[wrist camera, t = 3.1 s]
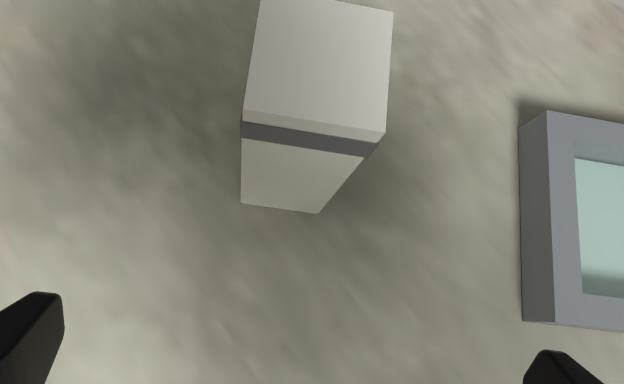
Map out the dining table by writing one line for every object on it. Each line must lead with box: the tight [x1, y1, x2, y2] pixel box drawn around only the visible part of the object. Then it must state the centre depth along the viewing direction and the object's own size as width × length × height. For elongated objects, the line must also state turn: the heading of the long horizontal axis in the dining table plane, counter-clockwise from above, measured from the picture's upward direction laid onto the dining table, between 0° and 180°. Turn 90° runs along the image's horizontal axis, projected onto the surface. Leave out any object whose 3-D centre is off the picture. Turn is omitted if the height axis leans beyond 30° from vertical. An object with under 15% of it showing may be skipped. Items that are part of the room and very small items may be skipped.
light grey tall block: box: [240, 0, 393, 214], centre depth 18 cm, size 4×4×11 cm
